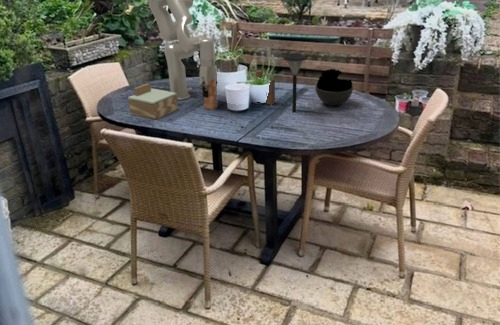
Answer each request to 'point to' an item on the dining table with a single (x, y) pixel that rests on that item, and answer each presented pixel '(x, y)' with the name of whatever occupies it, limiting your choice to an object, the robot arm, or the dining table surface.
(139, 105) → the toolbox
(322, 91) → the bowl of black rocks
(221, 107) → the dining table surface
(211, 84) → the key post
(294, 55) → the solar garden light
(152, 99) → the lid
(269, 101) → the wooden block
